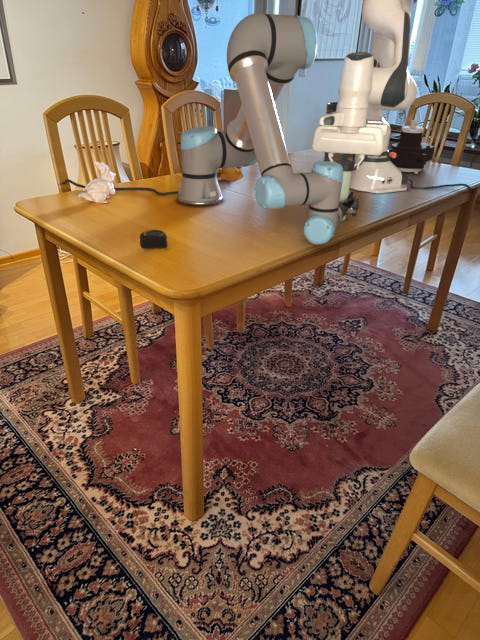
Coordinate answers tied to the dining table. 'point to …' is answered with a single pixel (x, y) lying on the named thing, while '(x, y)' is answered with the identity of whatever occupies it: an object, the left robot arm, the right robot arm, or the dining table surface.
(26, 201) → the dining table surface
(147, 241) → the tape measure
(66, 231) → the dining table surface
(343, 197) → the pale green cylinder
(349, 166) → the lid
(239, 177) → the toy
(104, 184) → the figurine
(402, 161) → the mechanical component
